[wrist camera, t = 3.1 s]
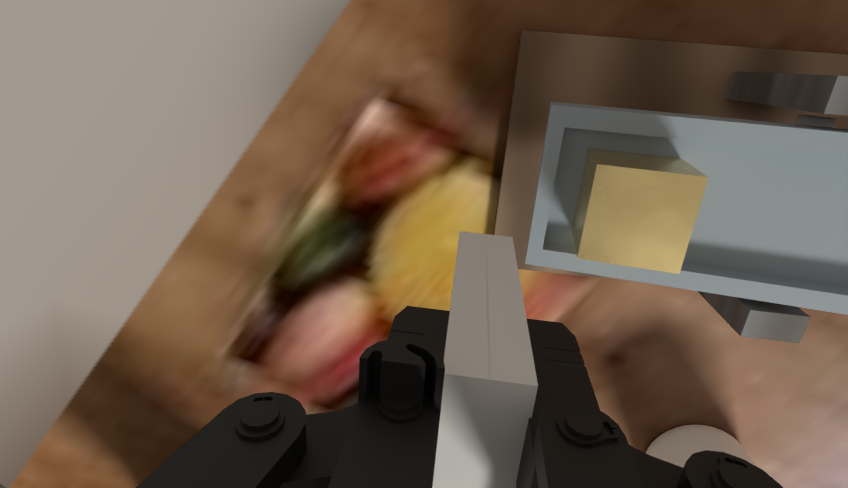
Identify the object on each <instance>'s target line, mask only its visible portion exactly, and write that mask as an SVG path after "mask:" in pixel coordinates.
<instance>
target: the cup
mask: <svg viewBox="0 0 848 488" xmlns="http://www.w3.org/2000/svg"><path fill="white" fill-rule="evenodd" d="M705 450H709V451H718V452H725V453H727V454H730V455H733V456H736V457H739V458H742V459H744V460H746V461H748V462H749V463H751V464H753V465H755V463H754V462H753V461H752V459H751V458H750V456H749V455H748V453H747V452H746V451H745V449H744V448H743V447H742V446H741V444H740V443H739V442H738V441H737V440H736V439H735V438H734V437H732V436H731V435H729V434H728V433H726V432H724V431H722V430H720V429H717V428H715V427H711V426H706V425H685V426H680V427H676V428H673V429H671V430H668V431H667V432H665V433H663V434H661V435H660V436H659V437H657V438H656V439H655V440H654V441H653V442H652V443H651V445H650V446H649V447H648V449H647V451H646V454H648V455H650V456H653V457H656V458H658V459H661V460H664V461H666V462H669V463H672V464H674V465H677V466H680V467H682V468H684V465H685V463H686V461H687V460H688V459H689V457H690V456H691V455H692V454H693V453H697V452H701V451H705ZM755 466H756V465H755ZM756 467H757V466H756Z"/></svg>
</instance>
